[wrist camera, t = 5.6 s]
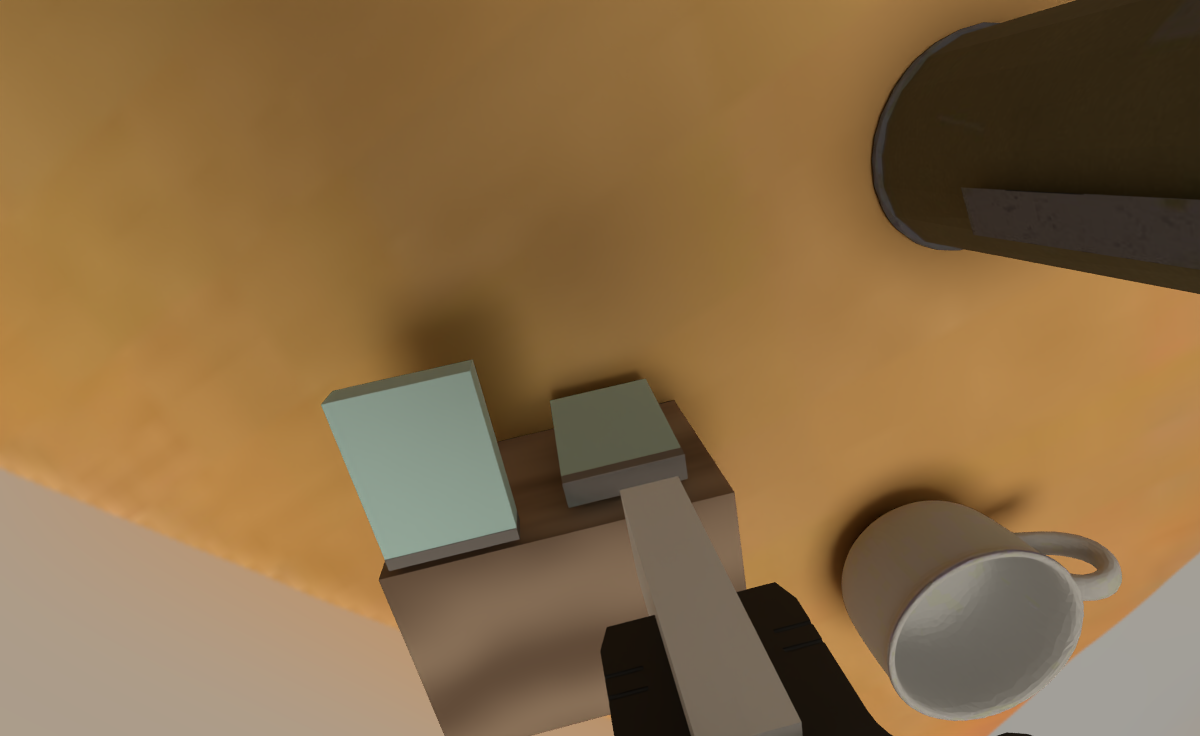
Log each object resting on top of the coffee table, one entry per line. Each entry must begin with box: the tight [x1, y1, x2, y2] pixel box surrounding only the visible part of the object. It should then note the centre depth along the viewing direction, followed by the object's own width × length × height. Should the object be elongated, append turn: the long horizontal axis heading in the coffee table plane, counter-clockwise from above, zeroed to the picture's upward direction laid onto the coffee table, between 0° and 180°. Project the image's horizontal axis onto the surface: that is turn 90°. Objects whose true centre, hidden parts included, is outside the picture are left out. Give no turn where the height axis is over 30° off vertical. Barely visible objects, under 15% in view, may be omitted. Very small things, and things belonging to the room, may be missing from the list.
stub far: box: [550, 379, 688, 508], centre depth 26 cm, size 7×5×1 cm
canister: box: [872, 0, 1200, 294], centre depth 19 cm, size 11×10×20 cm
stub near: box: [321, 359, 520, 571], centre depth 21 cm, size 7×5×1 cm
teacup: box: [842, 501, 1122, 721], centre depth 33 cm, size 14×11×8 cm
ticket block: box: [379, 401, 746, 736], centre depth 28 cm, size 10×14×9 cm
